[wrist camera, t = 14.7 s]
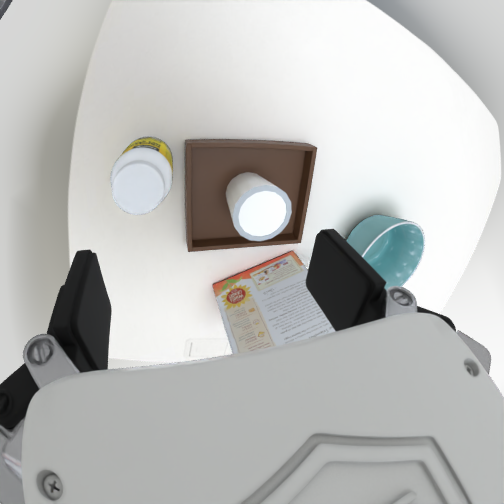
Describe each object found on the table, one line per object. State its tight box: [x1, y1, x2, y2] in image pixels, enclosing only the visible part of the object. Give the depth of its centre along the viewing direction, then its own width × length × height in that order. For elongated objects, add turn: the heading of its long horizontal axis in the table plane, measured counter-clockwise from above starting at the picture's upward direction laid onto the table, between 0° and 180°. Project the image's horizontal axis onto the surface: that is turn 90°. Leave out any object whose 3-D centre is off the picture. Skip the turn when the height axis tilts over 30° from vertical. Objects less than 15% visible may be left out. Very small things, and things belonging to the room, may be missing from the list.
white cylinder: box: [226, 172, 292, 241], centre depth 33 cm, size 7×7×7 cm
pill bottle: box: [110, 137, 173, 215], centre depth 26 cm, size 6×6×11 cm
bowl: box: [347, 215, 425, 290], centre depth 44 cm, size 16×16×8 cm
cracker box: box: [213, 251, 336, 354], centre depth 37 cm, size 14×6×21 cm, turn 106°
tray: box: [185, 139, 317, 252], centre depth 35 cm, size 16×14×2 cm
